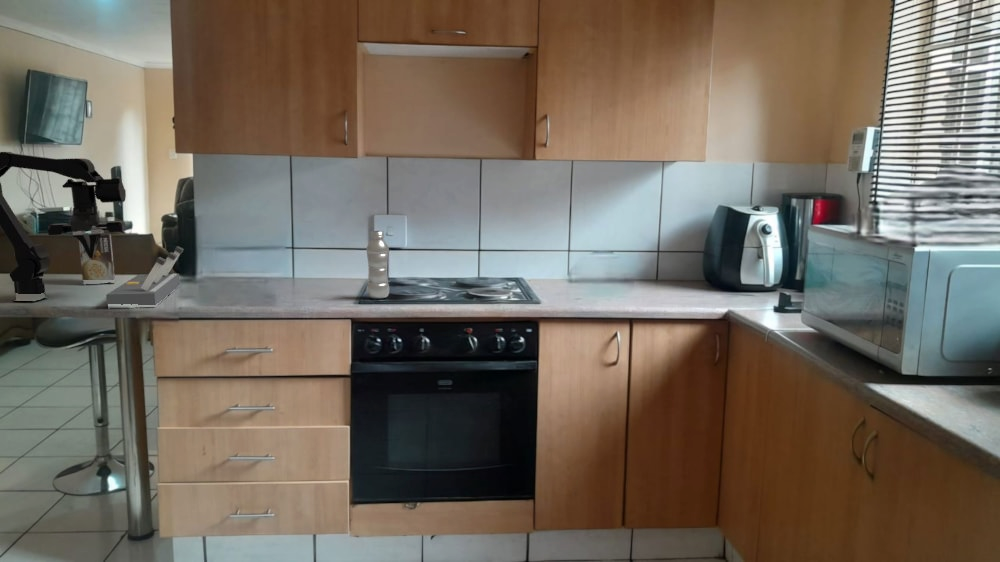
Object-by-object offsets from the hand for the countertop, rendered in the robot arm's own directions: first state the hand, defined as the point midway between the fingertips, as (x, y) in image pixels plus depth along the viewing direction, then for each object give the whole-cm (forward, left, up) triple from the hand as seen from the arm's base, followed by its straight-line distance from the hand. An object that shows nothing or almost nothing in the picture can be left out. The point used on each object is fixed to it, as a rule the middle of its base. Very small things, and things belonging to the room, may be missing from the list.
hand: (91, 258), depth 206 cm
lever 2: (+12, +18, -7) cm, 23 cm away
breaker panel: (+13, +5, -12) cm, 18 cm away
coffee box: (-14, +26, -12) cm, 32 cm away
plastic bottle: (+81, +9, -12) cm, 82 cm away
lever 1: (+19, -7, -7) cm, 21 cm away
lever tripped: (+15, +6, -7) cm, 18 cm away
